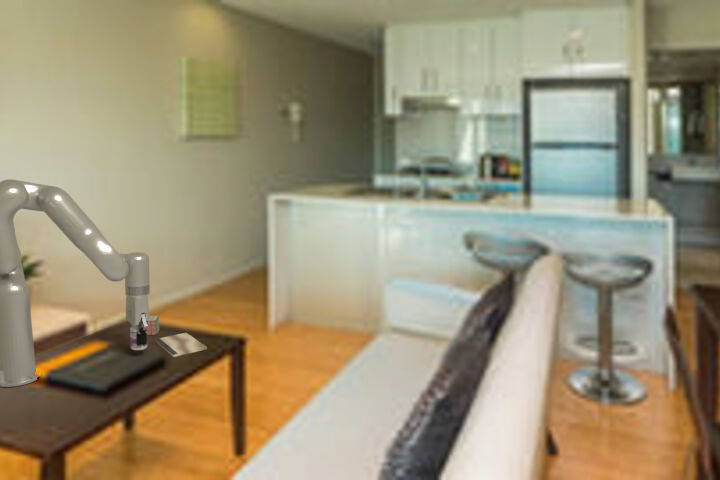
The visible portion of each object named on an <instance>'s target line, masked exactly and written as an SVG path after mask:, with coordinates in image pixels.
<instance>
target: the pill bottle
mask: <svg viewBox="0 0 720 480" xmlns="http://www.w3.org/2000/svg"><path fill="white" fill-rule="evenodd" d="M139 324H142V322H141V323H139ZM139 327H140V328H141V327H142V326H139ZM136 334H138V333H137V325H136V326H133V325H132V327H131V328H129V340H130V341H129V342H130V343H129V346H130V349H131V350H133V351H144V350H146V349H147V348H148V343H147V344H144V345H139V346H138V345H137V337H136Z"/></svg>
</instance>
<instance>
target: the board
mask: <svg viewBox="0 0 720 480" xmlns="http://www.w3.org/2000/svg"><path fill="white" fill-rule="evenodd" d="M154 342H155V343H156V344H157V345H158V346H160V348H162V349H163V350H164V351H165V352H167V353H168V354H169V355H171V356H172V358H176V357H179V356H183V355H189V354H192V353H197V352H200V351H205V350H207V349H208V347H207V346H206V345H205V344H203V343H202V342H201V341H199V340H197V339H196V338H195V337H193V336H192V335H191V334H189V333H187V332H183V333H177V334H173V335H168V336H164V337H158V338H154Z"/></svg>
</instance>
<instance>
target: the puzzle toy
mask: <svg viewBox="0 0 720 480" xmlns="http://www.w3.org/2000/svg"><path fill="white" fill-rule="evenodd" d="M147 325H148V328H147V336H157V334H158V333H159V331H160V316H159V315H149V323H148V324H147Z"/></svg>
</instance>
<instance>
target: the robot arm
mask: <svg viewBox="0 0 720 480" xmlns="http://www.w3.org/2000/svg"><path fill="white" fill-rule="evenodd" d="M21 209H22V210H28V211H34V212H35V211H36V212H42V213H45V215H46V216H47V217H48V218H49V219H50V220H51V222H53V224H55V225H56V227H58V228H59V230H60V231H61V232H62V233H63V235H65V237H66V238H68V239H67V240H69V241H70V242H71V243H72V244H73V245H74V247H76V248H77V250H78V249H79V250H80V251H81V252H82V253H83V254H84V255H85V256H86V257H87V258H88V259H89V260H90V261H91V262H92V264H93V265H94V266H95V267H96V268H97V269H98V270H99V272H100V273H101V274H102V275H103V276H104V277H105V278H106V279H107V280H109V281H111V282H121V281H123V280H124V285H125V288H124V289H125V293H124V294H125V297H126V298H125V320H126V321H127V322H128V323H130V325H129V326H130V328H131V327H132V325H133V326H136V325H137V333H138V334H136V337H137V345H138V346H139V345H144V344H147V345H148V335H147V328H148V325H147V324H148V323H149V316H150V310H149V309H150V308H149V298H148V297H149V295H150V292H151V291H150V258H149V255H148V254H147V253H145V252H130V253H119V252H118V251H117V250H116V249H115V247H114V246H113V245H112V244H111V243H110V242H109V241H108V239H107V238H106V237H105V235H104V234H103V233H102V232H101V229H99V228H98V226H97V225H96V224H95V223H94V222H93V221H92V220H91V219H90V217H89V216H88V215H87V214H86V213H85V212H84V210H82V208H81V207H80V206H79V205H78V203H77V202H76V201H75V200H74V199H73V198H72V196H71V195H69V193H67V191H65V190H64V189H63V188H61V187H58V186H54V185H48V184H47V185H46V184H41V183H34V182H29V181H23V180H18V179H11V178H10V179H5V180H4V179H3V180H1V181H0V387H3V388H12V387H13V388H14V387H19V386H24V385H28V384H31V383H33V382H35V381H37V380H38V379H37V377H38V376H37V375H34V374H35V372H36V368H38V367H37V366H36V359H35V358H36V356H35V345H34V333H33V322H32V311H31V309H32V308H31V293H30V287H29V286H28V283H27V281H26V278H25V273H24V268H23V262H22V253H21V250H20V248H19V246H18V245H19V244H18V240H17V237H16V229H15V224H14V219H15V215H16V214H17V213H18V211H20V210H21ZM141 322H142V324H139V323H141ZM139 326H142V327H141V328H140V327H139ZM130 328H129V329H130Z"/></svg>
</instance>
